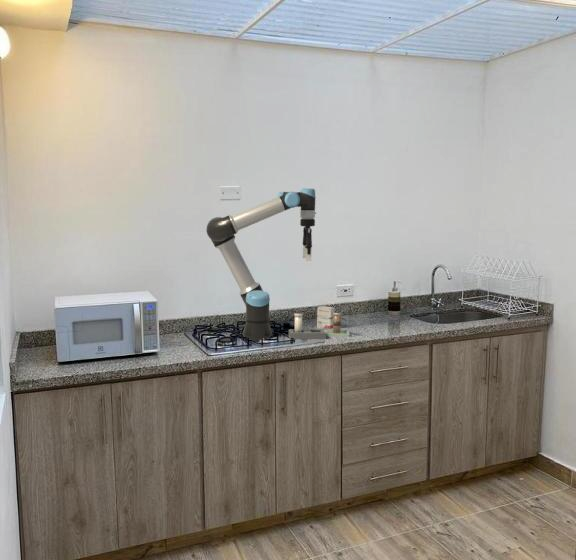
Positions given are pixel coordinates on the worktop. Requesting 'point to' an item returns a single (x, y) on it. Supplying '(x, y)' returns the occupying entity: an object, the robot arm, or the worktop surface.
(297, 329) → the cylinder
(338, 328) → the fuse
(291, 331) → the fuse block
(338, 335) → the parts tray
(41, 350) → the worktop surface
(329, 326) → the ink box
